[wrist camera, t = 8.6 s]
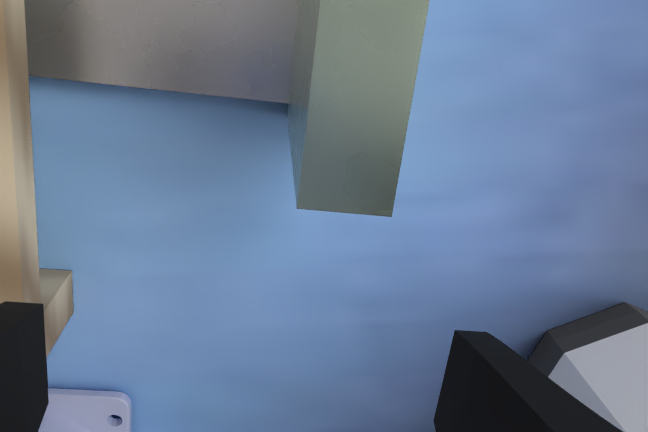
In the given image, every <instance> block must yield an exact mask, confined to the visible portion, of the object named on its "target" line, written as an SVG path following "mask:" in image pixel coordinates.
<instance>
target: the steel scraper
mask: <svg viewBox="0 0 648 432" xmlns="http://www.w3.org/2000/svg"><path fill="white" fill-rule="evenodd" d="M429 1H430V0H24V5H25V23H26V41H27V59H28V76H35V77H44V78H54V79H63V80H72V81H82V82H91V83H100V84H110V85H119V86H128V87H138V88H147V89H156V90H166V91H175V92H184V93H194V94H203V95H212V96H222V97H231V98H240V99H250V100H259V101H268V102H278V103H287V104H288V114H287V118H288V128H289V138H290V147H291V157H292V167H293V176H294V186H295V196H296V205H297V209H307V210H318V211H330V212H341V213H353V214H365V215H376V216H388V217H392V211H393V205H394V200H395V194H396V188H397V183H398V177H399V171H400V166H401V160H402V154H403V149H404V143H405V137H406V131H407V126H408V120H409V114H410V109H411V103H412V97H413V92H414V86H415V80H416V75H417V69H418V63H419V57H420V52H421V46H422V40H423V35H424V29H425V23H426V18H427V12H428V6H429Z"/></svg>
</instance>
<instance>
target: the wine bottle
mask: <svg viewBox="0 0 648 432" xmlns="http://www.w3.org/2000/svg"><path fill="white" fill-rule="evenodd" d="M528 362H529V363H530V364H532V365H533V366H534V367H535V368H537V369H538V370H539V371H541V372H542V373H543V374H544V375H546V376H547V377H548V378H550V379H551V380H552V381H554V382H555V383H556V384H558V385H559V386H560V387H561V388H563V389H564V390H565V391H567V392H568V393H569V394H571V395H572V396H573V397H575V398H576V399H577V400H579V401H580V402H582V403H583V404H584V405H586V406H587V407H588V408H590V409H591V410H593V411H594V412H595V413H597V414H598V415H600V416H601V417H602V418H604V419H605V420H607V421H608V422H610V423H611V424H613V425H614V426H616V427H617V428H618V429H620V430H621V431H623V432H648V311H645V310H643V309H640V308H638V307H635V306H633V305H630V304H628V303H622V304H619V305H617V306H614V307H611V308H608V309H606V310H603V311H600V312H597V313H595V314H592V315H589V316H586V317H584V318H581V319H578V320H575V321H573V322H570V323H567V324H564V325H562V326H559V327H556V328H553V329H551V330H548V331H547V332H546V333H545V335H544V337H543V338H542V340H541V341H540V343H539V344H538V346H537V347H536V349H535V350H534V352H533V353H532V355H531V356H530V358H529V360H528Z"/></svg>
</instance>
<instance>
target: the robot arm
mask: <svg viewBox="0 0 648 432" xmlns="http://www.w3.org/2000/svg"><path fill="white" fill-rule="evenodd" d="M111 415H118V416H120V417H121V419H115V418H113V417H112V416H111ZM434 424H435V429H436V432H623V431H621V430H620V429H618V428H617V427H616V426H614V425H613V424H611V423H610V422H608V421H607V420H605V419H604V418H602V417H601V416H600V415H598V414H597V413H595V412H594V411H593V410H591V409H590V408H588V407H587V406H586V405H584V404H583V403H582V402H580V401H579V400H577V399H576V398H575V397H573V396H572V395H571V394H569V393H568V392H567V391H565V390H564V389H563V388H561V387H560V386H559V385H558V384H556V383H555V382H554V381H552V380H551V379H550V378H548V377H547V376H546V375H544V374H543V373H542V372H541V371H539V370H538V369H537V368H535V367H534V366H533V365H532V364H530V363H529V362H528V361H526V360H525V359H524V358H522V357H521V356H520V355H519V354H517V353H516V352H515V351H513V350H512V349H511V348H509V347H508V346H507V345H505V344H504V343H502V342H501V341H500V340H498V339H497V338H495V337H494V336H492V335H491V334H489V333H487V332H476V331H460V330H455V332H454V336H453V340H452V345H451V349H450V353H449V357H448V362H447V366H446V370H445V374H444V379H443V383H442V387H441V392H440V396H439V400H438V404H437V409H436V413H435V417H434ZM0 432H131V400H130V398H129V397H128V396H127V395H126V394H124V393H122V392H116V391H96V390H75V389H54V388H48V381H47V362H46V344H45V325H44V306H43V304H40V303H25V302H9V301H5V302H3V303H1V304H0Z"/></svg>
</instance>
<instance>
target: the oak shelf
mask: <svg viewBox="0 0 648 432" xmlns="http://www.w3.org/2000/svg"><path fill="white" fill-rule="evenodd" d="M5 301H9V302H25V303H40V304H43V306H44V325H45V344H46V358H47V356H48V354H49V353H50V351H51V349H52V348H53V346H54V344H55V343H56V341H57V339H58V337H59V336H60V334H61V332H62V331H63V329H64V327H65V326H66V324H67V322H68V321H69V319H70V317H71V316H72V314H73V288H72V271H69V270H55V269H41V268H39V258H38V240H37V222H36V204H35V186H34V168H33V150H32V132H31V113H30V95H29V77H28V59H27V41H26V23H25V5H24V0H0V304H1V303H3V302H5Z"/></svg>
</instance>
